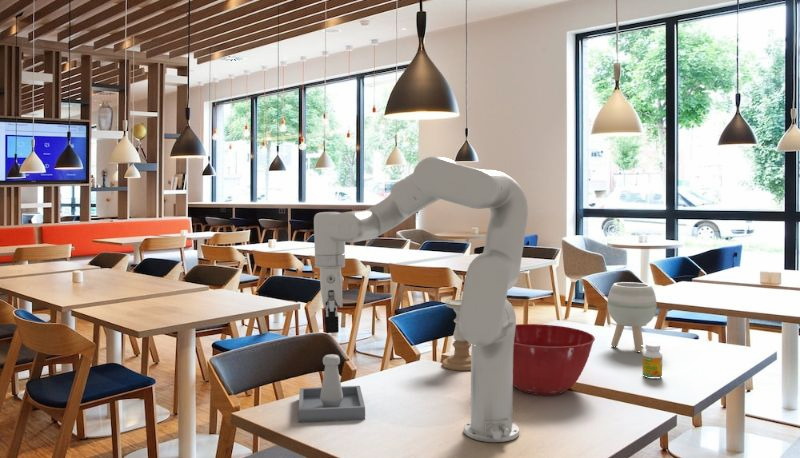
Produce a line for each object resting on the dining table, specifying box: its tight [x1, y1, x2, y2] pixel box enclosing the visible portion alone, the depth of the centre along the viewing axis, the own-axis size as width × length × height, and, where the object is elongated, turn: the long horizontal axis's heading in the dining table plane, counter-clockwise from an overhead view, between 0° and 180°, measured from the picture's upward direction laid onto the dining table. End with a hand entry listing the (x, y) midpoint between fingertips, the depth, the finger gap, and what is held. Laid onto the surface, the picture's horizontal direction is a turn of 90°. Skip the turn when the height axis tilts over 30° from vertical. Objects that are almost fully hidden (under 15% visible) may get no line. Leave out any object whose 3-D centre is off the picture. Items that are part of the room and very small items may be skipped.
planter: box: [606, 281, 658, 352], centre depth 236 cm, size 16×16×22 cm
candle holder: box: [441, 299, 472, 372], centre depth 214 cm, size 12×12×20 cm
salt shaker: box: [320, 353, 343, 408], centre depth 173 cm, size 6×6×13 cm
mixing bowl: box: [513, 323, 596, 396], centre depth 190 cm, size 28×28×16 cm
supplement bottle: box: [642, 342, 663, 377], centre depth 201 cm, size 5×5×10 cm
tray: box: [298, 385, 366, 423], centre depth 173 cm, size 18×16×3 cm
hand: (331, 328), depth 172 cm, fingers open, 9 cm apart
